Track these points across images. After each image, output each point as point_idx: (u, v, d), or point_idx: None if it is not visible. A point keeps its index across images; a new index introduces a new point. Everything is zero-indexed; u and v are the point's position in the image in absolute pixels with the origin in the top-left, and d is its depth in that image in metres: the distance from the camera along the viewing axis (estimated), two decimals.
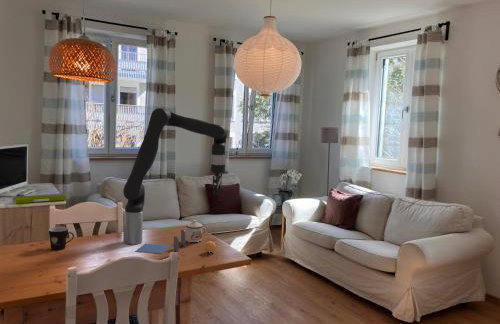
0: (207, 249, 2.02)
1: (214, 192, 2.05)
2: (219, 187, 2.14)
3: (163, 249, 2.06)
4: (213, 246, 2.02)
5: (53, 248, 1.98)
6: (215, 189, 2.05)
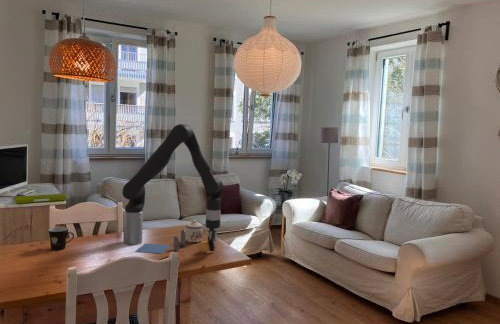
0: (202, 249, 2.02)
1: (210, 248, 2.03)
2: None
3: (163, 249, 2.06)
4: (204, 243, 2.03)
5: (53, 248, 1.98)
6: (211, 245, 2.03)
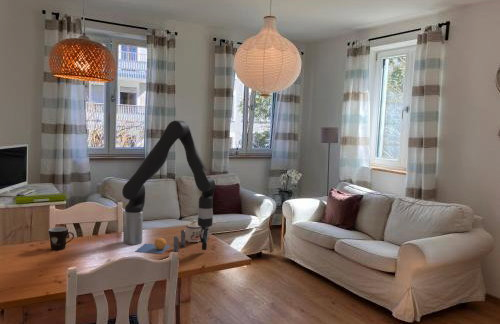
0: (160, 246, 2.04)
1: (203, 247, 2.04)
2: None
3: (163, 249, 2.06)
4: (155, 242, 2.05)
5: (53, 248, 1.98)
6: (204, 244, 2.04)
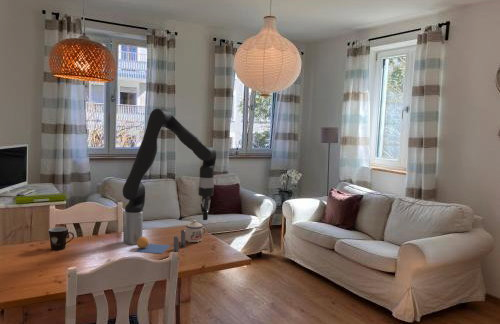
0: (139, 243, 2.05)
1: (203, 217, 2.02)
2: None
3: (163, 249, 2.06)
4: (145, 246, 2.06)
5: (53, 248, 1.98)
6: (204, 214, 2.02)
